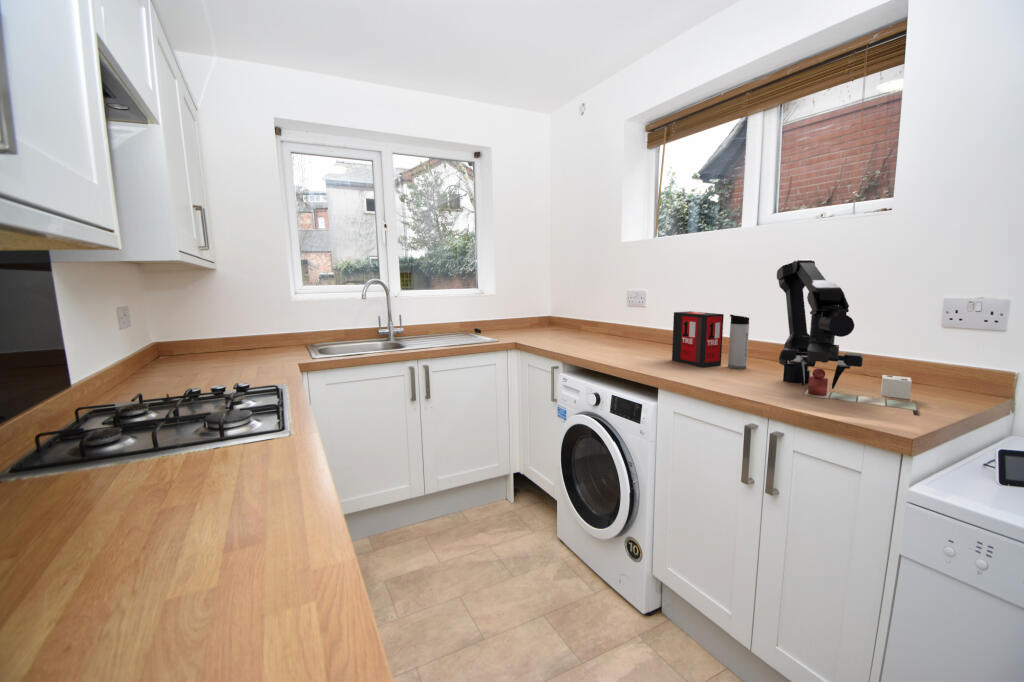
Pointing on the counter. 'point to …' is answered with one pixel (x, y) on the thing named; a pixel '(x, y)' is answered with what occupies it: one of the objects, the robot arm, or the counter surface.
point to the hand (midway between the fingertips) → (817, 386)
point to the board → (868, 400)
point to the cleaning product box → (697, 338)
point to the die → (896, 386)
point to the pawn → (818, 383)
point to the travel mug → (738, 342)
